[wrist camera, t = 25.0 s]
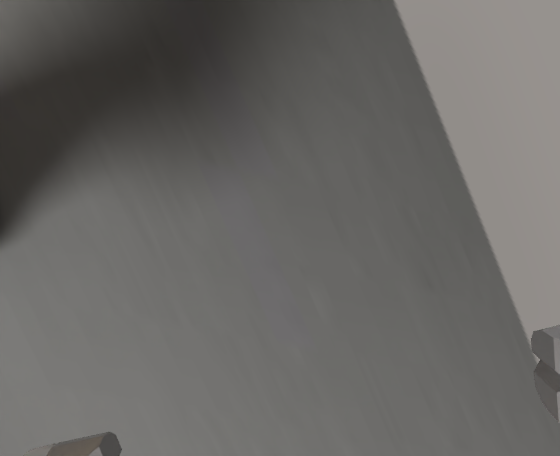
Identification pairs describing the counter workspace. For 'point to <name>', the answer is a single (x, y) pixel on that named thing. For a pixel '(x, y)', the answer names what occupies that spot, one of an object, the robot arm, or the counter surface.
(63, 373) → the counter surface
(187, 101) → the counter surface
